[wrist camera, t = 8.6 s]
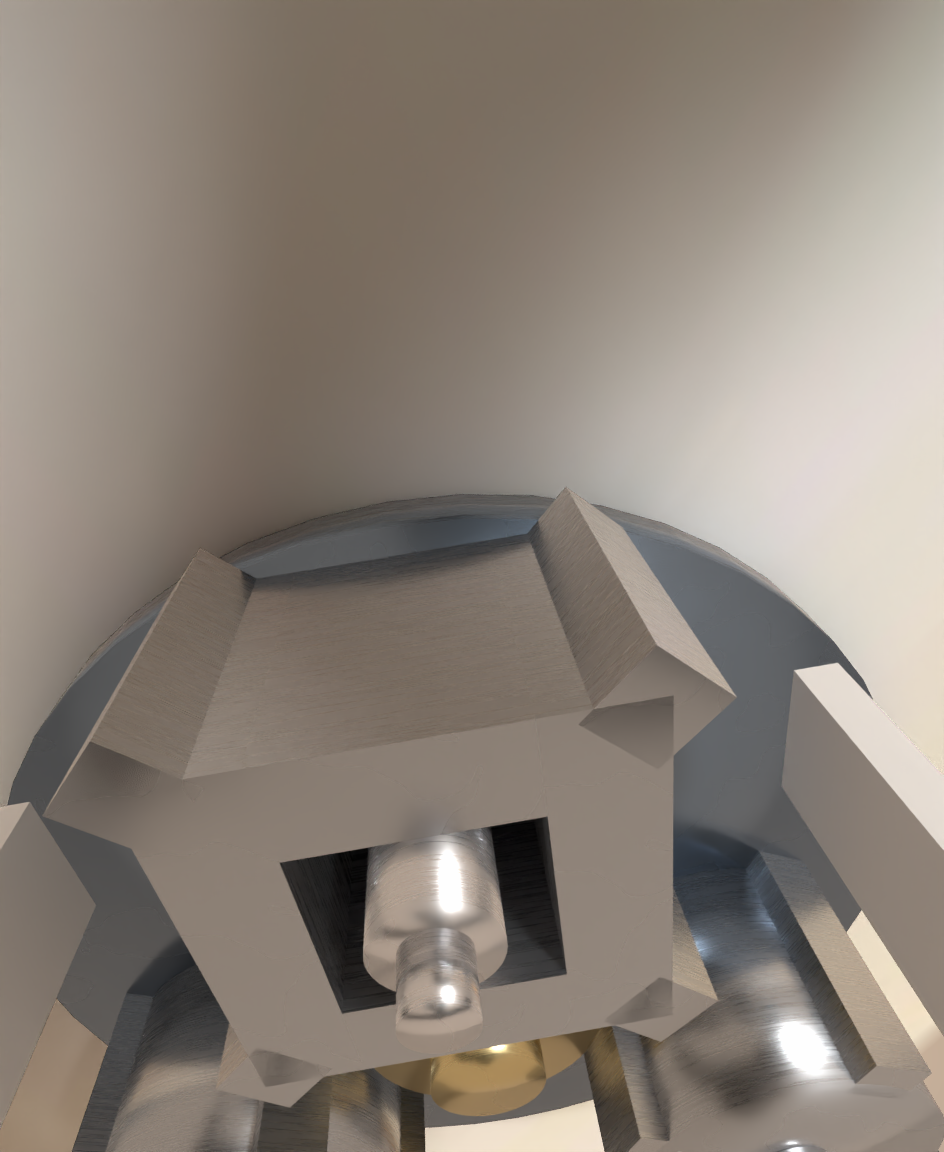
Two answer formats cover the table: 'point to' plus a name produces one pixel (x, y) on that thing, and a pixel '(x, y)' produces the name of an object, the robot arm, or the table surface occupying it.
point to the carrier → (477, 929)
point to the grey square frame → (411, 784)
